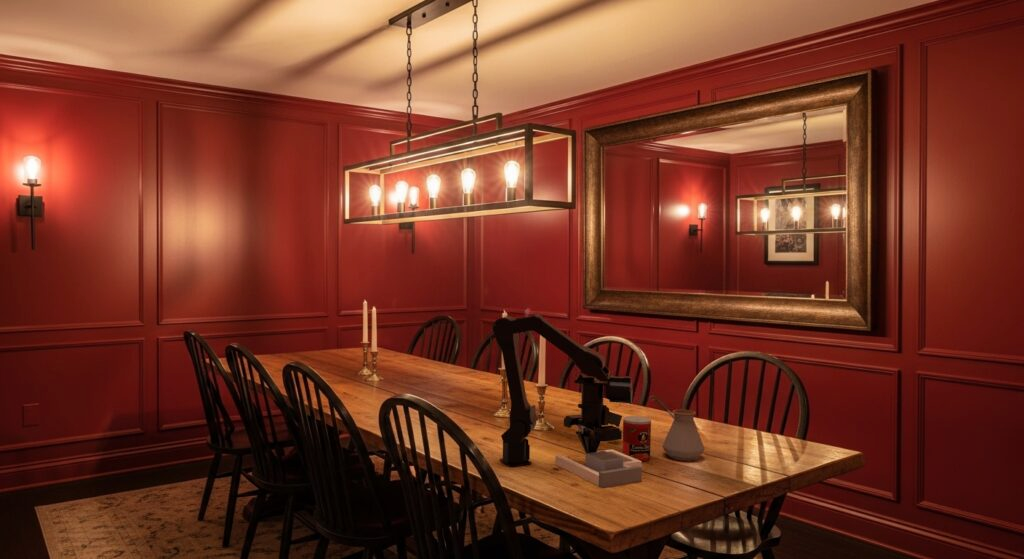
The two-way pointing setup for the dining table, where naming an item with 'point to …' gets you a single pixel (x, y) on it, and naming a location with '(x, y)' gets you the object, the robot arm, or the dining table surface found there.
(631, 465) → the white tray
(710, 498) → the dining table surface
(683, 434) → the coffee pot
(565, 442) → the dining table surface
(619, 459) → the slate block
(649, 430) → the canned food
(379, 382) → the dining table surface
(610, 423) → the robot arm
